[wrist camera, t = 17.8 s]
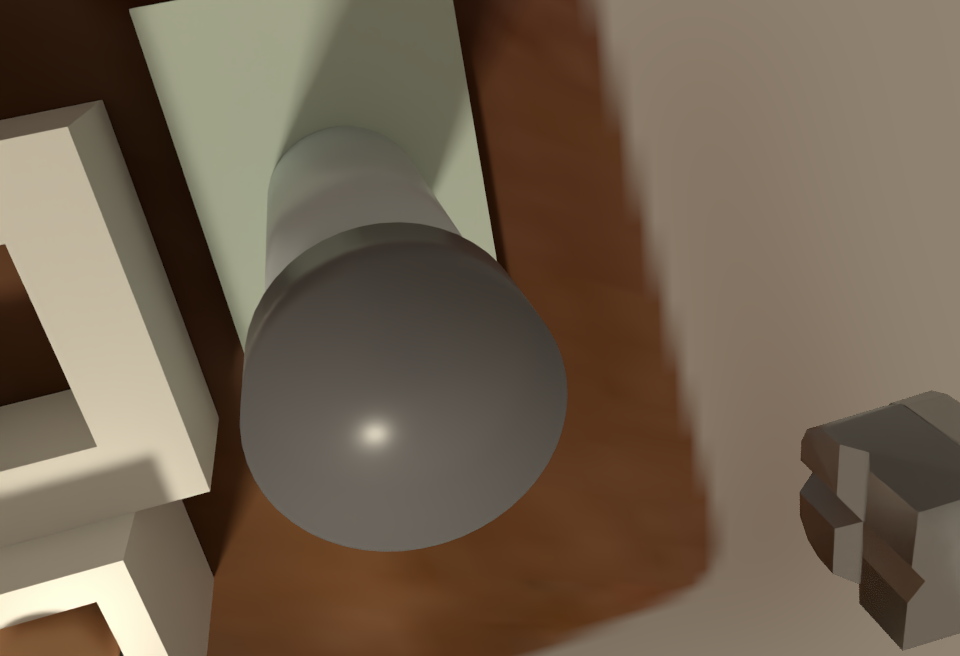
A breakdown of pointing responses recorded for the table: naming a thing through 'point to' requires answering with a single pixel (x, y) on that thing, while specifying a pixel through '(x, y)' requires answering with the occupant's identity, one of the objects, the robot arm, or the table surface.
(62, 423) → the housing
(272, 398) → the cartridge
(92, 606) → the release button
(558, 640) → the table surface
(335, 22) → the mat
